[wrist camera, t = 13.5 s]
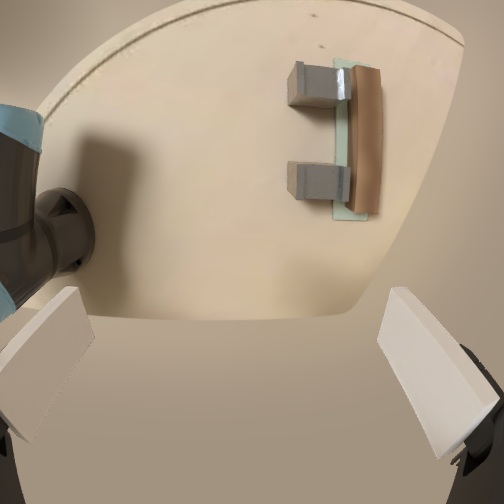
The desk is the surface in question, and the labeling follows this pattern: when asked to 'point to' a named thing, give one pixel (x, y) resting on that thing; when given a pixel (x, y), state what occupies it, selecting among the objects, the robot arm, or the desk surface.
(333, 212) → the mat
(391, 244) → the desk surface
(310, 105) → the cradle posts
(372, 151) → the rail
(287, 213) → the desk surface
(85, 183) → the desk surface
